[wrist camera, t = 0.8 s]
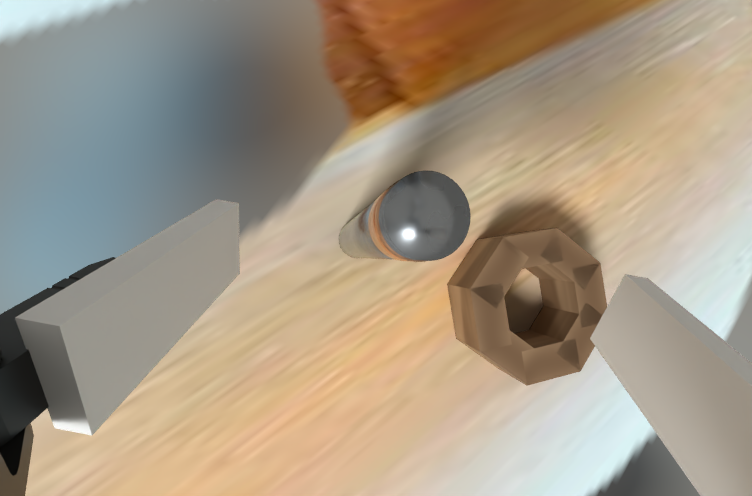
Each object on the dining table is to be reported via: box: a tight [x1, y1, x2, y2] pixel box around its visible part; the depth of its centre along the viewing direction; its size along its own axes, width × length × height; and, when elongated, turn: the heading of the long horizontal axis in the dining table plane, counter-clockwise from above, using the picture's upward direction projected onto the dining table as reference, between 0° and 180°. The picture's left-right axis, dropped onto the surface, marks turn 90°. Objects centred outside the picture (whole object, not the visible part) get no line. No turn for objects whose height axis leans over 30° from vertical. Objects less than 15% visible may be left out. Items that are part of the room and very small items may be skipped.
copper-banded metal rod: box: [339, 171, 470, 262], centre depth 21 cm, size 3×3×18 cm
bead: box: [447, 228, 607, 385], centre depth 30 cm, size 12×12×4 cm
